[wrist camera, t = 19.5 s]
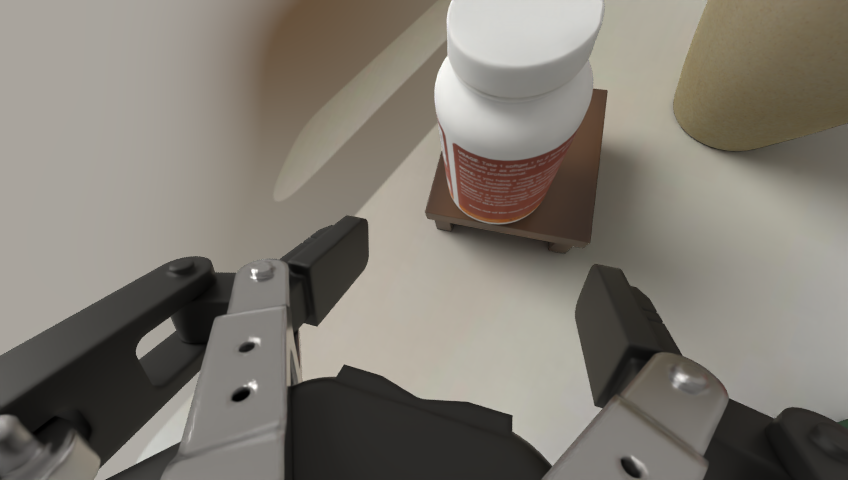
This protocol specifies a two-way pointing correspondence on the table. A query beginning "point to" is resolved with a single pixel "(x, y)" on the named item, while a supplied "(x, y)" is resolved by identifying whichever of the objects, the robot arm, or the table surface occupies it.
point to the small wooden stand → (564, 201)
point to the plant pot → (764, 72)
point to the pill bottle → (512, 99)
